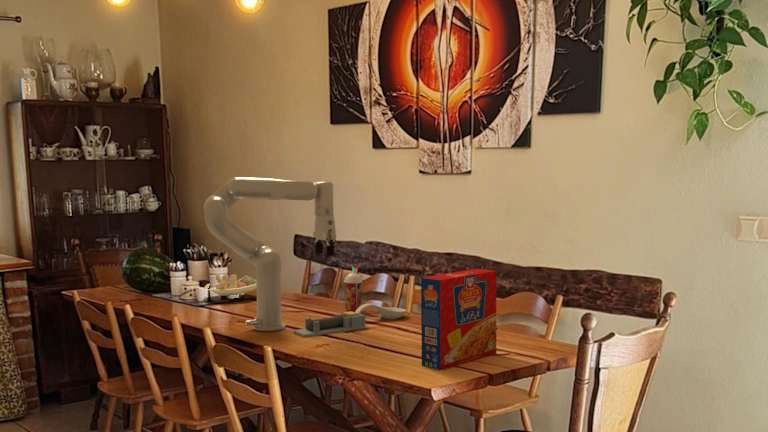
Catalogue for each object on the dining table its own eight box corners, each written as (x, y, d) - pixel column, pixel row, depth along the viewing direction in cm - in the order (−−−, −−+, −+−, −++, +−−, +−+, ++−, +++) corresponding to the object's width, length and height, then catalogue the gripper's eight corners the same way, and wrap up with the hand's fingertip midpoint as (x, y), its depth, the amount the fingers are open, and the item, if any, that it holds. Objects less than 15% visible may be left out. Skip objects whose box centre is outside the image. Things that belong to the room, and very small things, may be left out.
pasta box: (440, 370, 209) (440, 280, 207) (421, 365, 215) (421, 277, 213) (496, 353, 228) (496, 270, 227) (477, 349, 234) (477, 268, 232)
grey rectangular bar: (312, 332, 258) (312, 319, 258) (306, 329, 262) (306, 317, 262) (357, 325, 269) (357, 313, 269) (351, 323, 273) (351, 311, 273)
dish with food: (203, 305, 319) (202, 275, 319) (202, 295, 346) (201, 267, 346) (263, 302, 327) (262, 272, 326) (258, 292, 354) (257, 265, 353)
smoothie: (366, 312, 300) (366, 266, 299) (350, 314, 296) (349, 268, 295) (356, 309, 307) (355, 265, 306) (340, 311, 303) (339, 266, 301)
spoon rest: (397, 314, 296) (397, 298, 296) (411, 319, 286) (411, 302, 286) (348, 320, 285) (348, 303, 284) (361, 325, 274) (361, 308, 274)
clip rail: (304, 337, 254) (303, 324, 254) (293, 332, 261) (293, 320, 261) (365, 328, 269) (365, 315, 268) (354, 324, 276) (353, 311, 276)
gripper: (342, 212, 269) (343, 255, 270) (322, 211, 284) (322, 252, 285) (326, 213, 265) (326, 257, 266) (306, 211, 279) (306, 253, 280)
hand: (324, 254), depth 275 cm, fingers open, 9 cm apart
